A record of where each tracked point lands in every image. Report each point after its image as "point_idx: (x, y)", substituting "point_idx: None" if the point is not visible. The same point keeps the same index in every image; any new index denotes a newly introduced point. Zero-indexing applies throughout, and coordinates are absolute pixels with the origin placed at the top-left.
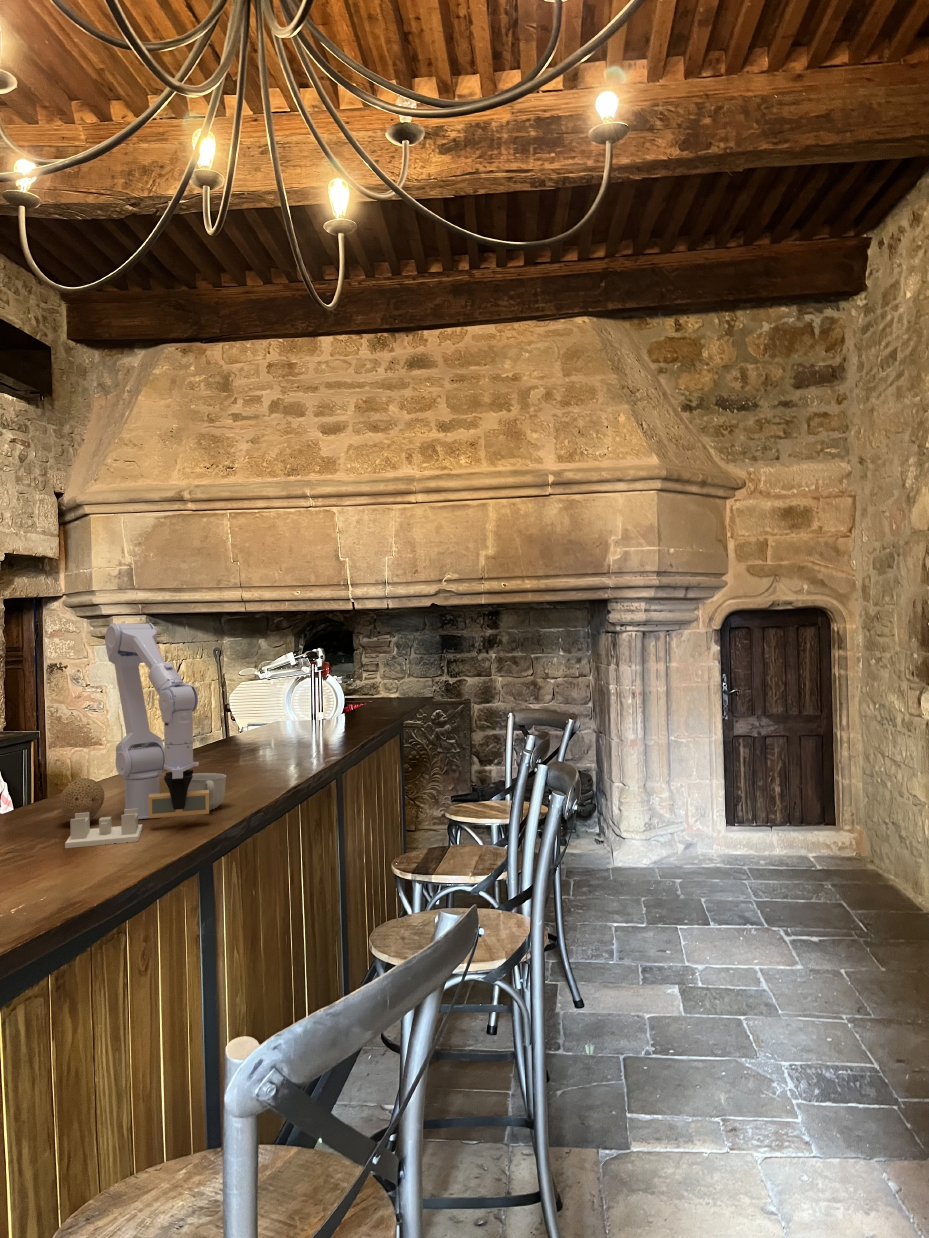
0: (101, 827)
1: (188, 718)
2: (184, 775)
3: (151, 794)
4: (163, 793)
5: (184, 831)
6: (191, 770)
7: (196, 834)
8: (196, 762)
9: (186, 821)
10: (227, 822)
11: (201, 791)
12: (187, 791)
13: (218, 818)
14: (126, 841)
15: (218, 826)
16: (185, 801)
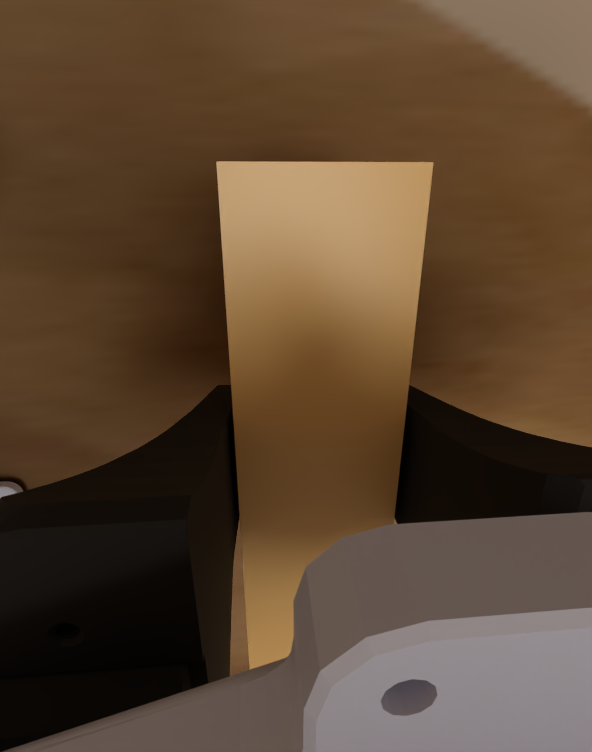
0: None
1: None
2: (210, 588)
3: (274, 661)
4: (263, 595)
5: (429, 326)
6: (80, 559)
7: (544, 255)
8: (488, 694)
9: (155, 330)
10: (290, 23)
11: (301, 262)
12: (243, 415)
13: (116, 99)
14: None
15: (397, 105)
16: (423, 392)
